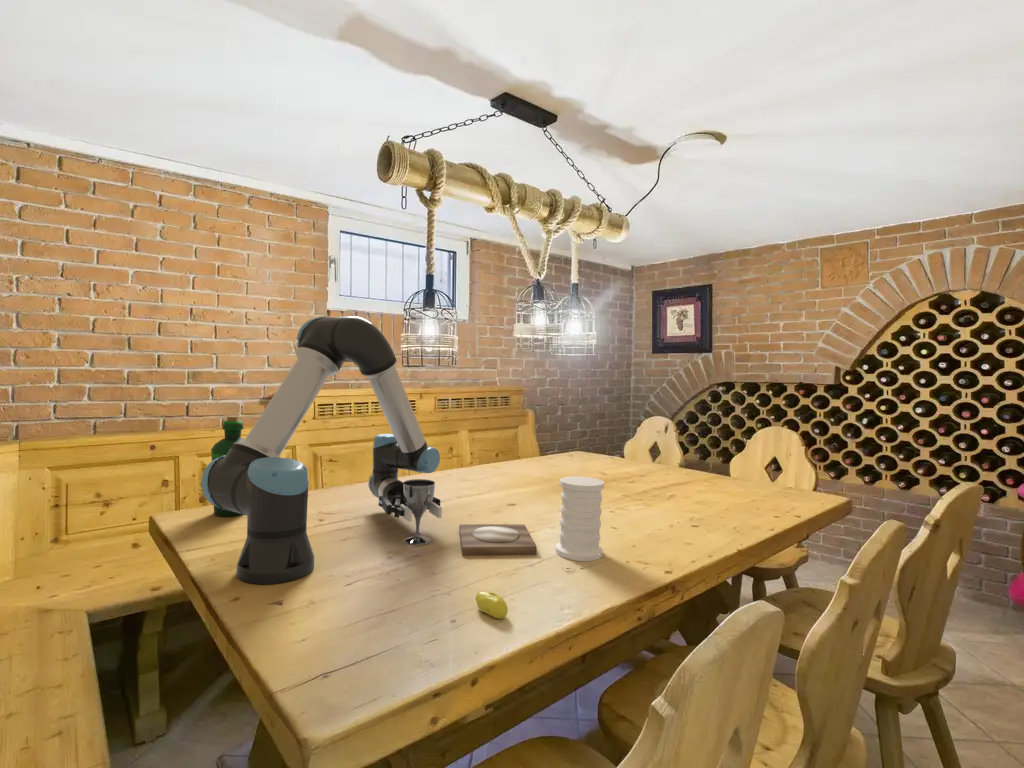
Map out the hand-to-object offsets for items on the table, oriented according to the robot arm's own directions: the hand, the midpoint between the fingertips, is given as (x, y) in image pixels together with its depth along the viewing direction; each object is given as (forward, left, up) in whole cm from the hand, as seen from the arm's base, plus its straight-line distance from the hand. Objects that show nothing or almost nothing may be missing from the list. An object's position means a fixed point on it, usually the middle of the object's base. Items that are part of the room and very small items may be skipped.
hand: (425, 514), depth 133 cm
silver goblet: (+5, +2, -8) cm, 10 cm away
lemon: (-36, -13, -8) cm, 40 cm away
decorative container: (-5, -38, -8) cm, 39 cm away
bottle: (+30, +56, -8) cm, 64 cm away
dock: (+3, -18, -8) cm, 20 cm away
